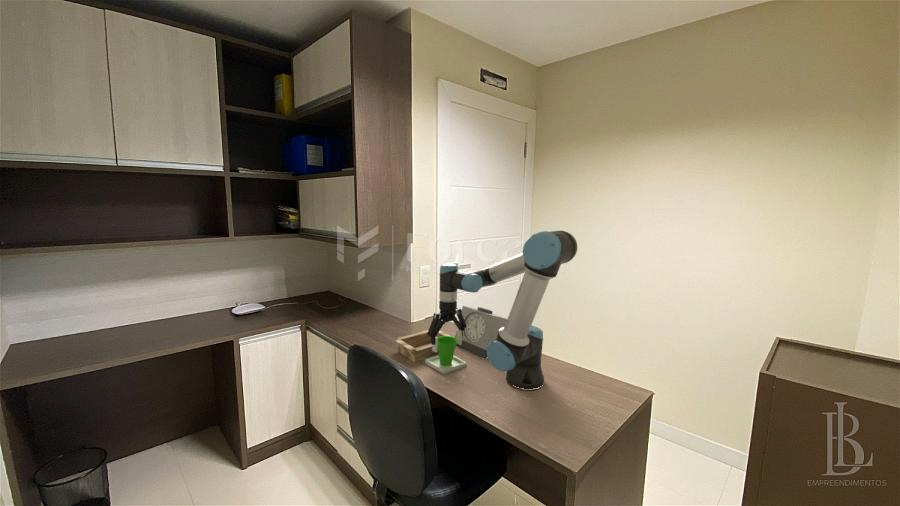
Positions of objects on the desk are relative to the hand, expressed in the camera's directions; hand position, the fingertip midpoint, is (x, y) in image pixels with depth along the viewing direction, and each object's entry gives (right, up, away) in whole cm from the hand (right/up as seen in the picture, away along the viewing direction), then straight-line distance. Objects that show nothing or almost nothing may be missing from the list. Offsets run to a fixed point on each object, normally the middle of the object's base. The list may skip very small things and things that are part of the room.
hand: (447, 347), depth 158 cm
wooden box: (-11, -6, +15) cm, 19 cm away
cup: (-1, -8, +1) cm, 8 cm away
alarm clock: (+16, -6, +22) cm, 27 cm away
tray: (-1, -8, +2) cm, 8 cm away
